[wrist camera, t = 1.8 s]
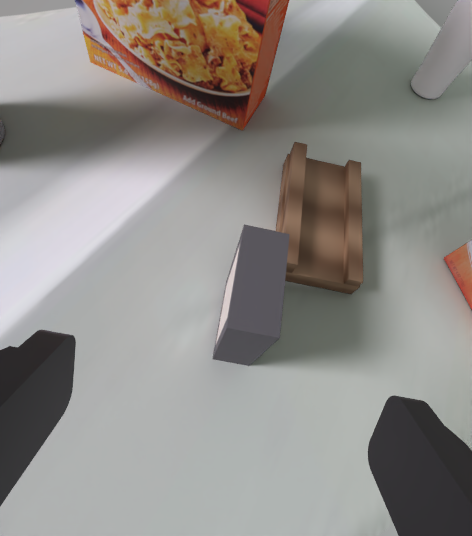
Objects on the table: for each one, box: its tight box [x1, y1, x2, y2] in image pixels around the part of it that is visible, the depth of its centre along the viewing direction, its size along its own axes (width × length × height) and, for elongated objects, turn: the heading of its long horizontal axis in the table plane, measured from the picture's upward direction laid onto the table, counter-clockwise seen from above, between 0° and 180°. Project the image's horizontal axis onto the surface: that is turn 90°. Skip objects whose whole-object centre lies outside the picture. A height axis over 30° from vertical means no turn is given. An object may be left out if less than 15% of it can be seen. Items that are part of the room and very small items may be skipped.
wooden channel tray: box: [276, 142, 363, 294], centre depth 38 cm, size 16×9×4 cm, turn 171°
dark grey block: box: [213, 225, 290, 366], centre depth 28 cm, size 8×4×11 cm, turn 171°
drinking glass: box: [411, 0, 472, 99], centre depth 48 cm, size 7×7×15 cm
